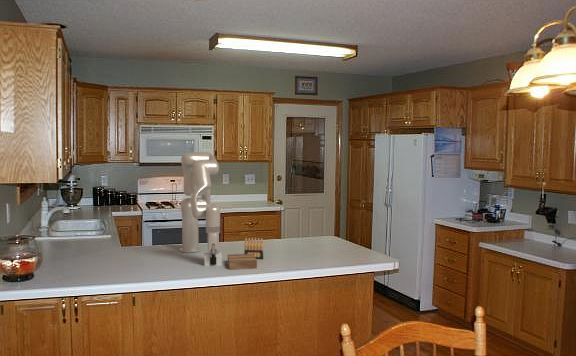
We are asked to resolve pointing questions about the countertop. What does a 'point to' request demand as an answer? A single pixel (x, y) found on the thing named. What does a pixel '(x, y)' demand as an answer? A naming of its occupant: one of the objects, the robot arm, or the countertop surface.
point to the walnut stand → (242, 261)
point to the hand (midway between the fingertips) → (213, 262)
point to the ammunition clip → (254, 248)
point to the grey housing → (218, 259)
